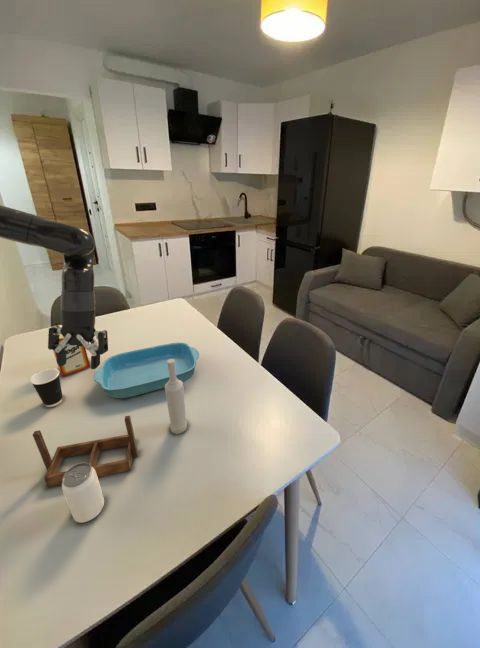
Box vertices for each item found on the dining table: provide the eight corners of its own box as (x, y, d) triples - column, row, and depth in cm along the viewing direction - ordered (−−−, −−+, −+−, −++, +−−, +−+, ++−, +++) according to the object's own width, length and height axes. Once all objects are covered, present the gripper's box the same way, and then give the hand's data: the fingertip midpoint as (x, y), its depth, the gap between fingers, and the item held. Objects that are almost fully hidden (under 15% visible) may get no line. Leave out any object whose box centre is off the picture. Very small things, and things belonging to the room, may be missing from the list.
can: (87, 528, 64) (74, 493, 59) (66, 516, 66) (52, 482, 61) (111, 500, 69) (101, 466, 65) (91, 490, 72) (80, 456, 67)
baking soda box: (85, 359, 120) (76, 325, 114) (90, 366, 116) (81, 332, 109) (58, 368, 114) (47, 333, 108) (62, 376, 110) (51, 340, 103)
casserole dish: (95, 411, 95) (91, 394, 92) (99, 372, 113) (95, 357, 110) (206, 382, 109) (205, 367, 106) (193, 352, 128) (192, 338, 125)
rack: (42, 488, 72) (24, 448, 66) (55, 456, 80) (41, 418, 74) (135, 469, 77) (127, 430, 71) (139, 441, 85) (132, 404, 79)
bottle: (188, 420, 93) (181, 354, 82) (187, 433, 88) (179, 365, 78) (171, 422, 92) (162, 356, 82) (169, 435, 87) (159, 367, 77)
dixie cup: (71, 401, 99) (62, 375, 94) (43, 414, 93) (33, 387, 89) (63, 390, 103) (54, 365, 99) (36, 402, 98) (26, 376, 93)
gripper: (39, 307, 70) (41, 369, 73) (98, 312, 71) (97, 375, 73) (60, 302, 78) (61, 359, 81) (113, 307, 78) (112, 363, 81)
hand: (78, 366), depth 77 cm, fingers open, 8 cm apart
